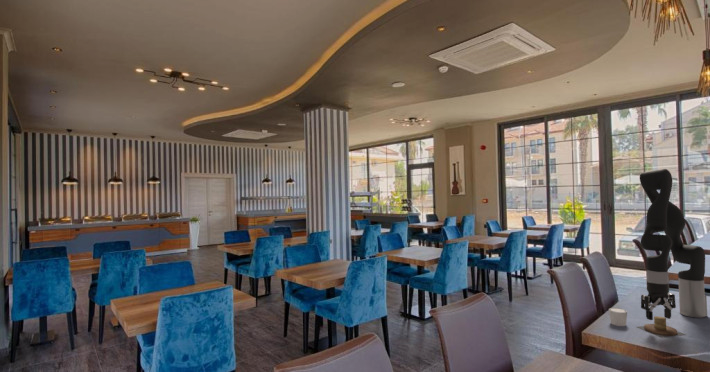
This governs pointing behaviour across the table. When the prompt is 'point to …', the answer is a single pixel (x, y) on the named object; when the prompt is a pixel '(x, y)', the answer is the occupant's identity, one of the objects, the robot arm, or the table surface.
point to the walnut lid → (660, 327)
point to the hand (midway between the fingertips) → (658, 318)
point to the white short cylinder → (618, 316)
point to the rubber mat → (662, 335)
